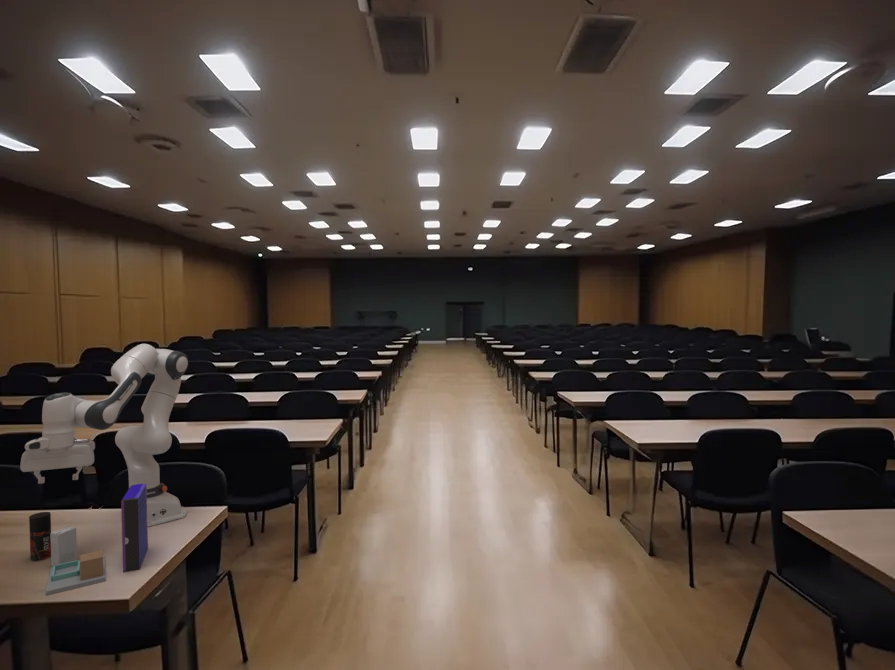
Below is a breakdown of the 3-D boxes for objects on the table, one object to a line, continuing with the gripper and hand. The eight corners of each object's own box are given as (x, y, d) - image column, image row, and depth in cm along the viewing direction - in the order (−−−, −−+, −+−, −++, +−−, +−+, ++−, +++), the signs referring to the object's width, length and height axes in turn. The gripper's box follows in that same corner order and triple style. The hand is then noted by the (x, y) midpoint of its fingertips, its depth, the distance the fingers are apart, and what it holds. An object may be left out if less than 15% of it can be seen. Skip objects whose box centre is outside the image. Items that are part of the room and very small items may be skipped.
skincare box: (69, 559, 181) (68, 525, 181) (78, 562, 180) (77, 527, 179) (50, 567, 176) (49, 532, 175) (58, 570, 174) (57, 534, 174)
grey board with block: (104, 559, 181) (104, 539, 181) (105, 581, 166) (104, 558, 166) (50, 571, 173) (49, 550, 173) (46, 595, 158) (45, 571, 158)
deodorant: (39, 553, 187) (38, 511, 186) (56, 553, 186) (54, 511, 186) (26, 560, 181) (24, 518, 180) (42, 561, 180) (41, 518, 180)
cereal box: (132, 550, 188) (131, 484, 187) (148, 548, 190) (146, 483, 189) (123, 572, 172) (121, 500, 171) (139, 569, 174) (137, 498, 173)
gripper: (96, 436, 186) (96, 475, 186) (23, 441, 177) (23, 482, 177) (93, 439, 180) (93, 479, 181) (18, 445, 171) (18, 487, 171)
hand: (58, 481), depth 179 cm, fingers open, 8 cm apart
